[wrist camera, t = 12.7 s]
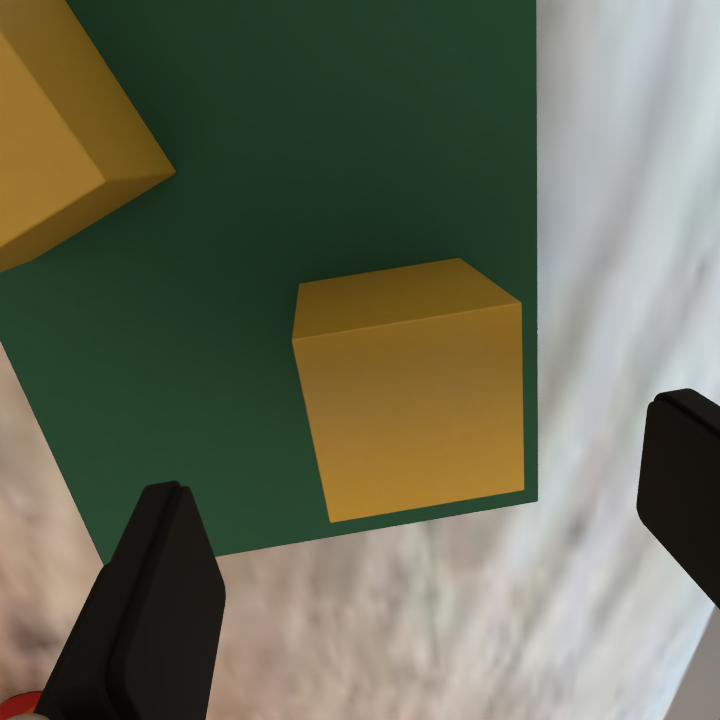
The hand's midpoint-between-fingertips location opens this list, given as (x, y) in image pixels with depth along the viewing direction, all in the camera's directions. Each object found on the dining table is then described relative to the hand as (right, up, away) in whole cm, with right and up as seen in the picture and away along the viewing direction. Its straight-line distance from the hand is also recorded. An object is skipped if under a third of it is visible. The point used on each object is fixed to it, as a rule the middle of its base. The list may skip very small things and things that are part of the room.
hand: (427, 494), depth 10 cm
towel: (-5, +5, +9) cm, 11 cm away
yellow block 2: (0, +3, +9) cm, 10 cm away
